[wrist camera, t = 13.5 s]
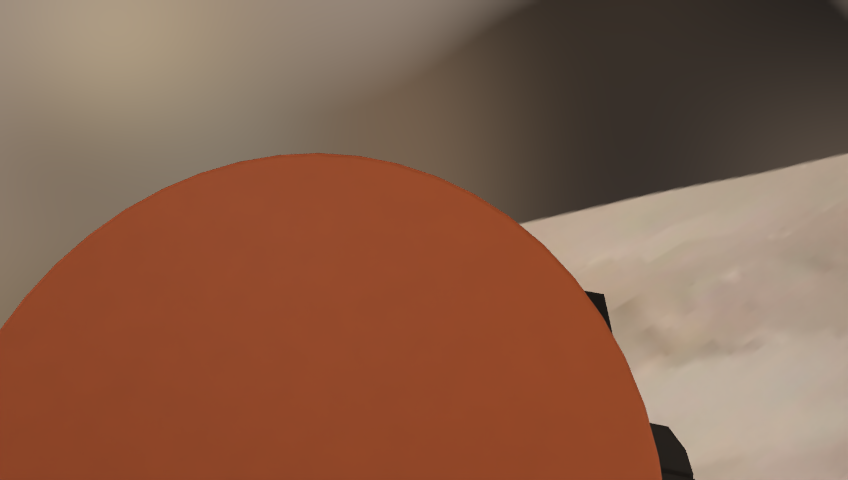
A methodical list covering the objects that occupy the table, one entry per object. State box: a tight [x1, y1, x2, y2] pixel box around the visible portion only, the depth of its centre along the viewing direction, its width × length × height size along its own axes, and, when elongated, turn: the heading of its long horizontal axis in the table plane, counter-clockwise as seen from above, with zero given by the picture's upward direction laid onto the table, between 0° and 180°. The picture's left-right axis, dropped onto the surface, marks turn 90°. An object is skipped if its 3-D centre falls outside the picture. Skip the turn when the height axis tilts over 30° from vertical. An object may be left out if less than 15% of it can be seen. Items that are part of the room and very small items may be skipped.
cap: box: [0, 153, 662, 480], centre depth 11 cm, size 7×7×12 cm
